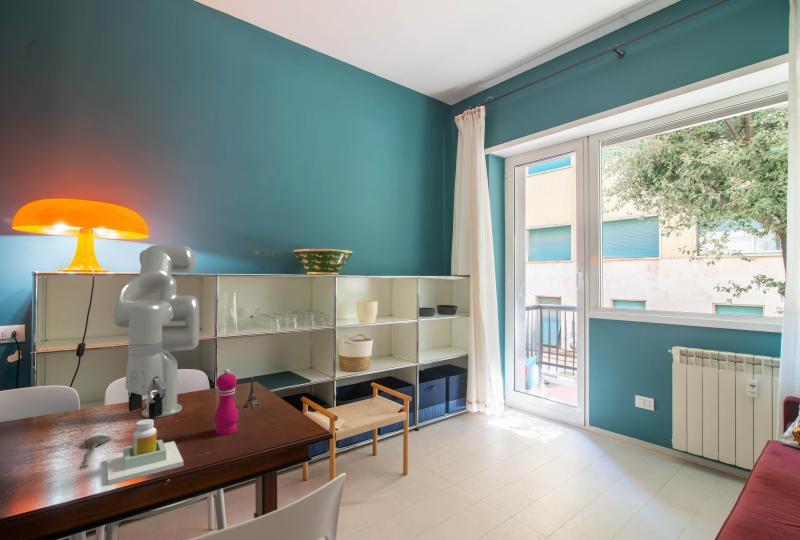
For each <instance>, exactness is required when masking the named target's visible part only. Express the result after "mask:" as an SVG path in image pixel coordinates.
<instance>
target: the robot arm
mask: <svg viewBox="0 0 800 540" xmlns="http://www.w3.org/2000/svg"><path fill="white" fill-rule="evenodd" d="M138 259H139V263H140V271H139V275H138V276H136V277H134V278H132V279H131V280H128V282H126V284H124V285H123V286H122V287H121V288H120V289H119V290H118V292H117V294H116V297H115V301H114V305H113V309H112V321H113V323H114V324H115V326H117V327H118V328H122V329H128V358H127V361H126V362H127V363H126V373H125V389H126V391H127V397H128V411H129V412H132V411H137V410H140V409H142V408H143V396H146V399H145V401H144V404H145V405H146V408H145V409H143V410H142V411H141V416H142V417H144V418H148V419H155V418H163V417H169V416H172V415H175V414H177V413H179V412H181V411H182V409H183V406H182V405H181V404H179V403H178V362H177V359H176V358H175V357H174V355H172V354H171V353H172V352H178V351H179V352H180V351H190V350H194V349H196V348H198V346H199V343H200V342H199V341H200V309H199V308H200V306H199V301H198V299H197V297H195V296H193V295H178V294H177V281H176V279H175V278H174V277H173V276H172V273H179V274H181V273H183V274H184V273H187V274H188V273H192V272H193V271H194V269H195V267H196V263H197V262H196V260H197V258H196V255H195V252H194V250H193V249H192V248H191V247H189V246H187V245H179V244H178V245H174V244H173V245H172V244H171V245H170V244H156V245H151V246H148V247H147V248H146V249H143V250H142V251H141V252H140V253H139V258H138ZM147 296H149V300H148V299H147V300H145V299H143V300H139V299H142V298H144V297H147ZM170 322H183V323H185V324H169V323H170ZM168 324H169V325H168Z"/></svg>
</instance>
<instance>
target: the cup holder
mask: <svg viewBox="0 0 800 540" xmlns="http://www.w3.org/2000/svg"><path fill="white" fill-rule="evenodd" d="M180 467H184V458H183V457H182V455H181V453H180V451H179V448H178V447H177V444H176V442H175V440H172V441H168V442H164V441H163V439H156V451H155V452H150V453H146V454H142V455H137V456H133V445H130V446H125V447H123V449H122V452H120V453H115V454H110V455H107V456H106V472H107V474H108V475H107V485H108V486H110V485H109V484H111V485H114V483H115V484H119V483H121V482H125V481H129V480H133V479H137V478H141V477H145V476H149V475H153V474H157V473H160V472H161V473H162V472H164V471H168V470H172V469H176V468H180ZM118 482H119V483H118Z"/></svg>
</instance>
